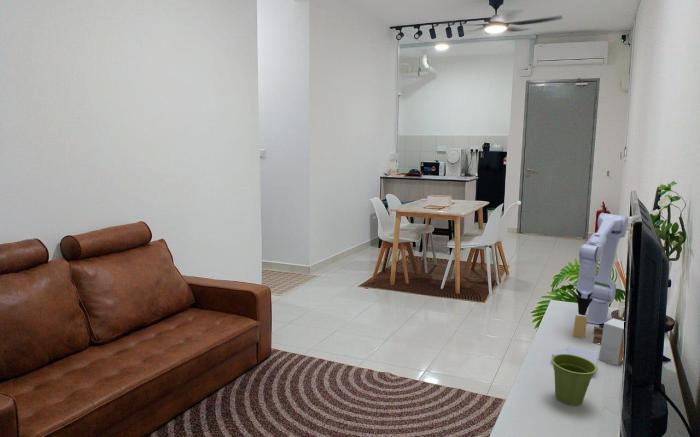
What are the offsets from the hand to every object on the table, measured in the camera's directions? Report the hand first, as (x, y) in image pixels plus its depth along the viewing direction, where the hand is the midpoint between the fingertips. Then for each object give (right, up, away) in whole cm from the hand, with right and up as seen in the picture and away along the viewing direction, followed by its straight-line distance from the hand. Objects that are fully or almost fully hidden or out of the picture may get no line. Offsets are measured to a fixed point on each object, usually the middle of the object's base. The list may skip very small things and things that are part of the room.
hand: (582, 311), depth 194 cm
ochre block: (0, -9, +2) cm, 9 cm away
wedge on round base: (-14, -14, -25) cm, 32 cm away
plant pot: (-24, -17, -46) cm, 55 cm away
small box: (+2, -13, -18) cm, 22 cm away
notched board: (+7, -10, -1) cm, 12 cm away
